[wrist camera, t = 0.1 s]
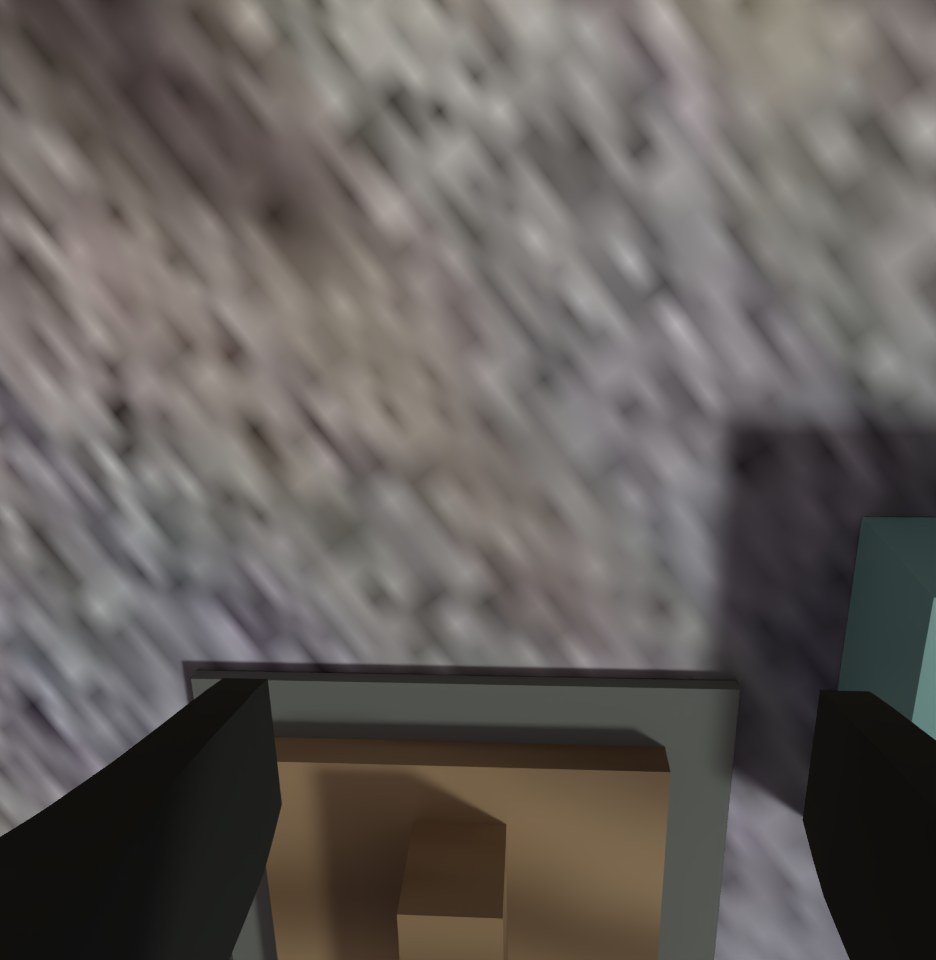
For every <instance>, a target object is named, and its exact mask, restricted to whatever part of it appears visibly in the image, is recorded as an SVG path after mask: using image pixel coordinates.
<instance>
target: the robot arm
mask: <svg viewBox="0 0 936 960" xmlns="http://www.w3.org/2000/svg"><path fill="white" fill-rule="evenodd" d="M281 806H282V800H281V791H280V782H279V773H278V765H277V756H276V747H275V738H274V729H273V720H272V712H271V703H270V694H269V685H268V679H249V678H223V679H221V680H220V681H218V682H217V683H215V684H214V685H213V686H211V687H210V688H208V689H207V690H206V691H204V692H203V693H202V694H200V695H199V696H198V697H197V698H195V699H194V700H193V701H191V702H190V703H189V704H188V705H186V706H185V707H184V708H182V709H181V710H180V711H179V712H177V713H176V714H175V715H173V716H172V717H171V718H170V719H168V720H167V721H166V722H164V723H163V724H162V725H161V726H159V727H158V728H157V729H155V730H154V731H153V732H151V733H150V734H149V735H148V736H146V737H145V738H144V739H142V740H141V741H140V742H138V743H137V744H136V745H134V746H133V747H132V748H130V749H129V750H128V751H126V752H125V753H124V754H123V755H121V756H120V757H119V758H117V759H116V760H115V761H113V762H112V763H111V764H109V765H108V766H106V767H105V768H103V769H102V770H100V771H99V772H98V773H96V774H95V775H93V776H92V777H90V778H89V779H88V780H86V781H85V782H83V783H82V784H80V785H79V786H77V787H76V788H75V789H73V790H72V791H70V792H69V793H67V794H66V795H65V796H63V797H62V798H60V799H59V800H57V801H56V802H54V803H53V804H52V805H50V806H49V807H47V808H46V809H44V810H43V811H41V812H40V813H38V814H36V815H35V816H33V817H32V818H30V819H29V820H27V821H25V822H24V823H22V824H21V825H19V826H17V827H16V828H14V829H12V830H11V831H9V832H8V833H6V834H4V835H2V836H1V837H0V960H229V959H230V957H231V954H232V952H233V949H234V947H235V944H236V942H237V940H238V937H239V935H240V932H241V930H242V927H243V925H244V922H245V920H246V917H247V915H248V912H249V910H250V907H251V905H252V902H253V900H254V897H255V895H256V892H257V890H258V887H259V885H260V882H261V880H262V877H263V874H264V871H265V867H266V863H267V860H268V856H269V853H270V849H271V846H272V842H273V838H274V834H275V830H276V826H277V822H278V818H279V814H280V810H281ZM803 823H804V827H805V831H806V834H807V838H808V842H809V846H810V850H811V853H812V857H813V861H814V865H815V868H816V871H817V875H818V878H819V882H820V885H821V889H822V892H823V896H824V898H825V901H826V903H827V906H828V908H829V911H830V913H831V916H832V918H833V920H834V923H835V925H836V928H837V930H838V932H839V935H840V937H841V940H842V942H843V945H844V947H845V949H846V952H847V954H848V957H849V959H850V960H936V740H935V739H934V738H932V737H931V736H930V735H928V734H927V733H926V732H924V731H923V730H922V729H920V728H919V727H918V726H917V725H915V724H914V723H913V722H911V721H910V720H909V719H907V718H906V717H905V716H903V715H902V714H901V713H899V712H898V711H897V710H895V709H894V708H893V707H891V706H890V705H889V704H887V703H886V702H884V701H883V700H882V699H880V698H879V697H877V696H876V695H874V694H873V693H871V692H870V691H832V690H820V695H819V703H818V710H817V718H816V725H815V733H814V740H813V748H812V755H811V763H810V770H809V778H808V785H807V793H806V800H805V807H804V815H803Z"/></svg>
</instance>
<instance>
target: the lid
mask: <svg viewBox="0 0 936 960" xmlns="http://www.w3.org/2000/svg"><path fill="white" fill-rule="evenodd" d="M274 738H275V747H276V756H277V765H278V773H279V782H280V791H281V800H282V806H281V810H280V814H279V818H278V822H277V826H276V830H275V834H274V838H273V842H272V846H271V849H270V853H269V856H268V860H267V863H266V870H267V878H268V886H269V894H270V902H271V910H272V918H273V925H274V933H275V941H276V949H277V957H278V960H658V948H659V934H660V919H661V905H662V890H663V876H664V861H665V847H666V832H667V818H668V803H669V789H670V774H671V772H670V767H669V762H668V758H667V753H666V749H665V747H654V746H613V745H573V744H532V743H492V742H451V741H411V740H370V739H330V738H289V737H274Z"/></svg>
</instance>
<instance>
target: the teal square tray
mask: <svg viewBox="0 0 936 960" xmlns="http://www.w3.org/2000/svg"><path fill="white" fill-rule="evenodd" d="M837 691H870V692H871V693H873V694H874V695H876V696H877V697H879V698H880V699H882V700H883V701H884V702H886V703H887V704H889V705H890V706H891V707H893V708H894V709H895V710H897V711H898V712H899V713H901V714H902V715H903V716H905V717H906V718H907V719H909V720H910V721H911V722H913V723H914V724H915V725H917V726H918V727H919V728H920V729H922V730H923V731H924V732H926V733H927V734H928V735H930V736H931V737H932V738H934V739H935V740H936V517H862V521H861V528H860V535H859V542H858V549H857V556H856V563H855V570H854V577H853V584H852V591H851V598H850V605H849V613H848V620H847V627H846V634H845V641H844V648H843V655H842V662H841V669H840V676H839V683H838V690H837Z"/></svg>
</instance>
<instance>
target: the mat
mask: <svg viewBox="0 0 936 960" xmlns="http://www.w3.org/2000/svg"><path fill="white" fill-rule="evenodd" d="M223 678H249V679H268V685H269V694H270V703H271V712H272V720H273V729H274V737H289V738H330V739H370V740H411V741H451V742H492V743H532V744H573V745H613V746H654V747H665V749H666V753H667V758H668V762H669V767H670V772H671V774H670V789H669V803H668V818H667V832H666V847H665V861H664V876H663V890H662V905H661V919H660V934H659V948H658V960H714V953H715V943H716V933H717V923H718V912H719V902H720V892H721V882H722V871H723V861H724V851H725V841H726V831H727V820H728V810H729V800H730V790H731V780H732V769H733V759H734V749H735V739H736V728H737V718H738V708H739V698H740V688H739V685H738V682H737V681H721V680H669V679H618V678H566V677H514V676H463V675H411V674H359V673H308V672H256V671H204V670H196V672H195V673H194V675H193V676H192V678H191V683H192V690H193V697H194V699H195V698H197V697H198V696H199V695H200V694H202V693H203V692H204V691H206V690H207V689H208V688H210V687H211V686H213V685H214V684H215V683H217V682H218V681H220V680H221V679H223ZM232 956H233V960H278V957H277V949H276V941H275V933H274V925H273V918H272V910H271V902H270V894H269V886H268V878H267V870H266V867H265V871H264V874H263V877H262V880H261V882H260V885H259V887H258V890H257V892H256V895H255V897H254V900H253V902H252V905H251V907H250V910H249V912H248V915H247V917H246V920H245V922H244V925H243V927H242V930H241V932H240V935H239V937H238V940H237V942H236V944H235V947H234V949H233V952H232Z"/></svg>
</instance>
